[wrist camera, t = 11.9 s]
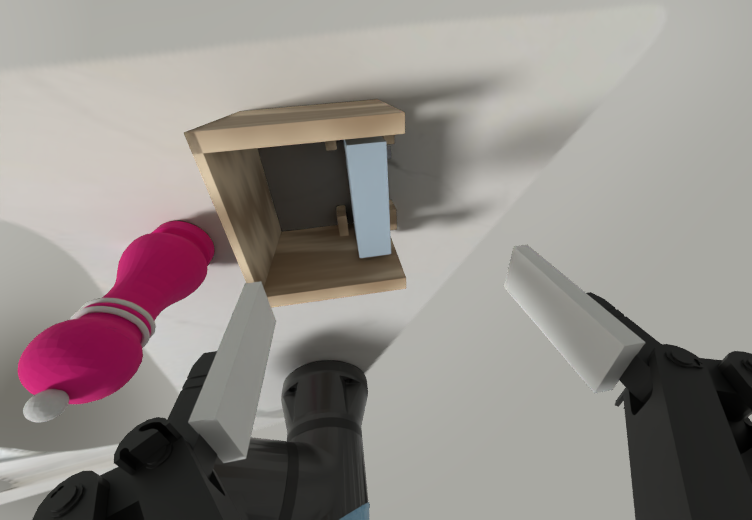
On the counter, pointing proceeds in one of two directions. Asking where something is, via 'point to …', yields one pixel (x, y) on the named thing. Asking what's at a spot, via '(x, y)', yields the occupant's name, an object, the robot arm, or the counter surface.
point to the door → (369, 193)
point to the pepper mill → (114, 323)
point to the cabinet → (257, 212)
